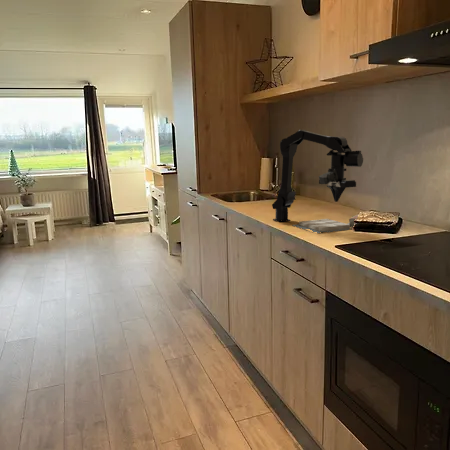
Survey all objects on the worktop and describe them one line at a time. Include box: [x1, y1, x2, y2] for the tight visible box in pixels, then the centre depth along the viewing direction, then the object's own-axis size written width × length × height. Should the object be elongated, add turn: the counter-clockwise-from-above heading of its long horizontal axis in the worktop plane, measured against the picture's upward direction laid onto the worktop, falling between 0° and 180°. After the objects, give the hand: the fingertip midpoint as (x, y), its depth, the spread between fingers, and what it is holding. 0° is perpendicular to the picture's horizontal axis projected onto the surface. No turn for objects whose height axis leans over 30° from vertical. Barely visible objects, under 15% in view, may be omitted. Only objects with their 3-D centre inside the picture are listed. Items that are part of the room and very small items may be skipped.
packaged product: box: [347, 213, 360, 228], centre depth 195 cm, size 18×5×10 cm
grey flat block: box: [318, 218, 351, 229], centre depth 192 cm, size 16×6×2 cm, turn 24°
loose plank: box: [298, 219, 339, 231], centre depth 189 cm, size 16×10×2 cm, turn 24°
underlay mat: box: [291, 223, 353, 234], centre depth 189 cm, size 19×19×1 cm
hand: (336, 201), depth 185 cm, fingers closed
